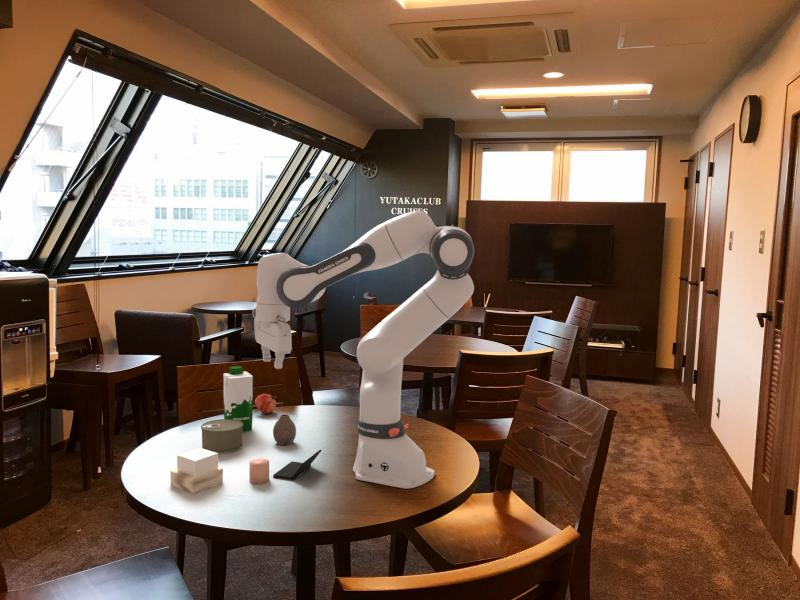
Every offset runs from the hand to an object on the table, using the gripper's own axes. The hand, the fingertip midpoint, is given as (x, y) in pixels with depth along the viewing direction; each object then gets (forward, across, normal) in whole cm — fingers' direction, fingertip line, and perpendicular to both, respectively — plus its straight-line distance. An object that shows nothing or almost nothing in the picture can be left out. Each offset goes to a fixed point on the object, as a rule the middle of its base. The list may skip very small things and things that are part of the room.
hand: (272, 364), depth 169 cm
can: (+29, +23, +7) cm, 38 cm away
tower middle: (+25, -2, +20) cm, 32 cm away
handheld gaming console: (+29, -7, -5) cm, 30 cm away
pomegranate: (+29, +52, -15) cm, 61 cm away
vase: (+29, +18, -10) cm, 35 cm away
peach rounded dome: (+29, -8, +6) cm, 30 cm away
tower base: (+29, -2, +20) cm, 36 cm away
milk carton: (+29, +38, -2) cm, 48 cm away
